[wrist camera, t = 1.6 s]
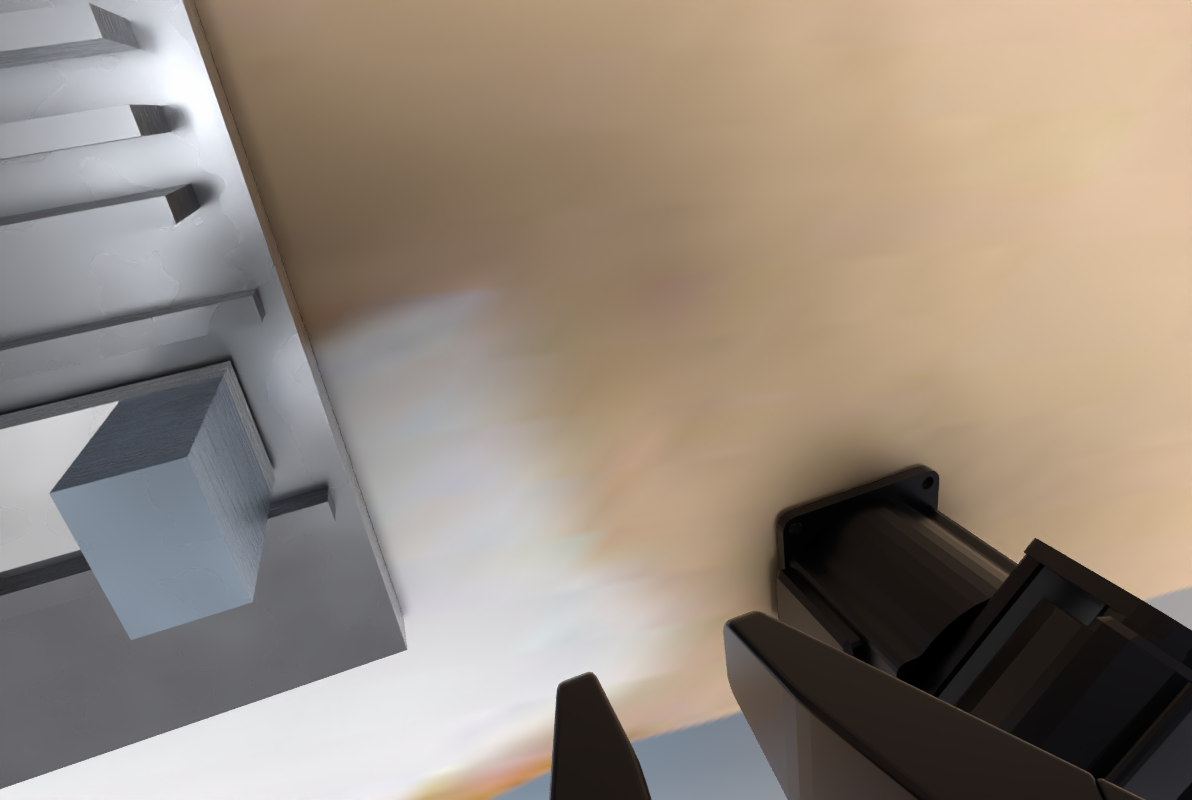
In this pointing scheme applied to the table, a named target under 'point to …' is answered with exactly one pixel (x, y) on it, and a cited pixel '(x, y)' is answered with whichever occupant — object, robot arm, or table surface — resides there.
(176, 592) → the grey block
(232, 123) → the heatsink
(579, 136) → the table surface
